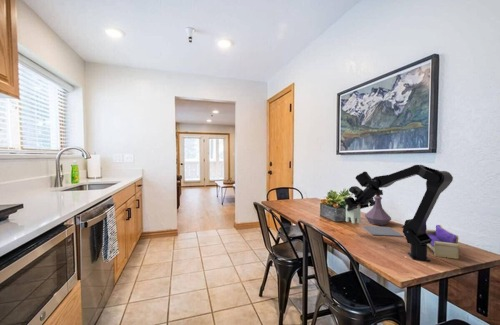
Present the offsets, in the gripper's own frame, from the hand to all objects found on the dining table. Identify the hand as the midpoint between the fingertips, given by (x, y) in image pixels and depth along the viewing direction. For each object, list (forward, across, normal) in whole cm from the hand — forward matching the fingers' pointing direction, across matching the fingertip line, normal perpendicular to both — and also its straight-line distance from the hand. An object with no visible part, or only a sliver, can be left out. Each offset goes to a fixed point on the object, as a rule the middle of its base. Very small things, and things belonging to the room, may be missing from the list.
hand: (351, 210), depth 129 cm
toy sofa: (-14, -18, +34) cm, 41 cm away
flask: (+15, -34, +5) cm, 37 cm away
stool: (+4, 0, +6) cm, 7 cm away
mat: (+6, -19, +13) cm, 24 cm away
